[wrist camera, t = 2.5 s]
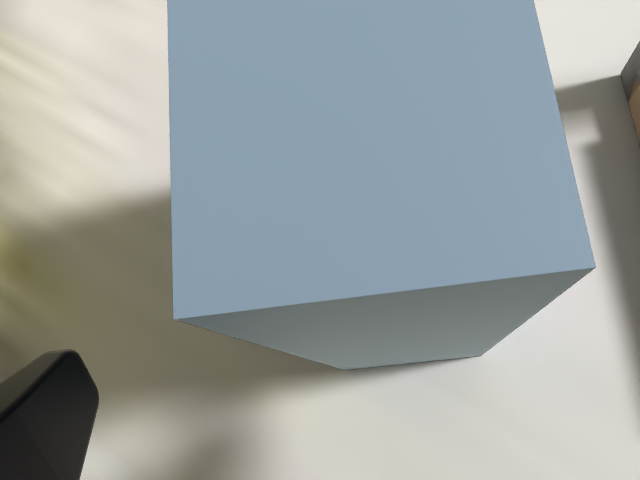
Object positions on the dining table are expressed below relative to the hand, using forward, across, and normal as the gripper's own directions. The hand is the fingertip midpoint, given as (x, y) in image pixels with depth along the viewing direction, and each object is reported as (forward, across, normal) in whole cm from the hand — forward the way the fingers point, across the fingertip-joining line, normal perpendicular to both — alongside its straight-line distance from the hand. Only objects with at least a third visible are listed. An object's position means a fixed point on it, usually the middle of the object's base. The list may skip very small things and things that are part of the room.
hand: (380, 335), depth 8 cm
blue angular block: (+9, 0, +4) cm, 10 cm away
